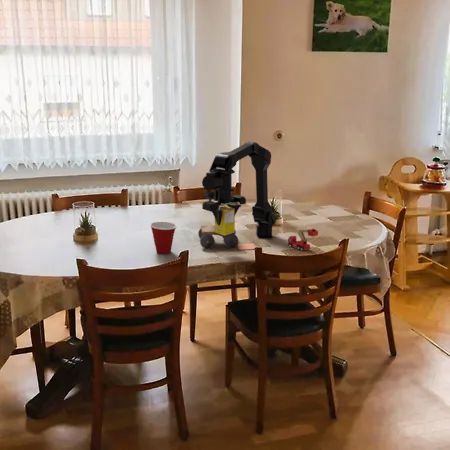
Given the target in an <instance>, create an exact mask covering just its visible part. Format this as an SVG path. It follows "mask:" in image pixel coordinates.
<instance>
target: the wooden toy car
mask: <svg viewBox="0 0 450 450" xmlns="http://www.w3.org/2000/svg"><path fill="white" fill-rule="evenodd" d="M236 234H237V233H236V229H235V234H233V235H230V236H227V237H222V238H223V243H224V245H225V246H226V247H227V248H229V249H233V248H236V247H238V246H237V245H238V244H239V238H238V236H237V235H236ZM197 235H198V237H199V242H200V246H201V247H202V248H203V249H205V250H209V249H211V248H213V247H214V246H215V243H216V241H215V238H214V236H217V235H216V234H215V224H213V225H212V224H207V225H205V224H204V225H203V224H202V225H200V228H199V230H198V234H197Z"/></svg>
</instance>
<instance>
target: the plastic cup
mask: <svg viewBox="0 0 450 450" xmlns="http://www.w3.org/2000/svg"><path fill="white" fill-rule="evenodd" d="M149 226H150V228H151V232H152V237H153V241H154V246H155V250H156V254H158V253H159V254H158V255H169V254H170V252H172V246H173V242H174V236H175V235H174V234H175V231H176V229H177V227H178V225H177V224H176V223H173V222H169V221H155V222H154V221H153V222H150V224H149ZM168 253H169V254H168Z"/></svg>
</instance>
